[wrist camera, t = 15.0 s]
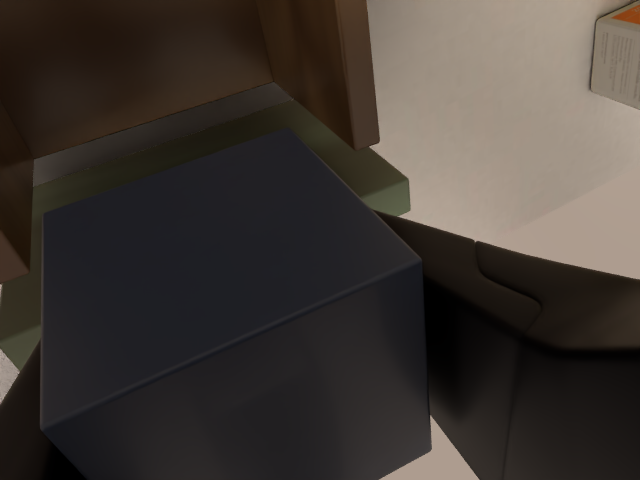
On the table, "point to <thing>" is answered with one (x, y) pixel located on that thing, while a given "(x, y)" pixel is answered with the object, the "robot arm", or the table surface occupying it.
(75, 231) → the block
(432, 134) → the table surface
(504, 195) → the table surface
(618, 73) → the cosmetic box
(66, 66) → the drawer
